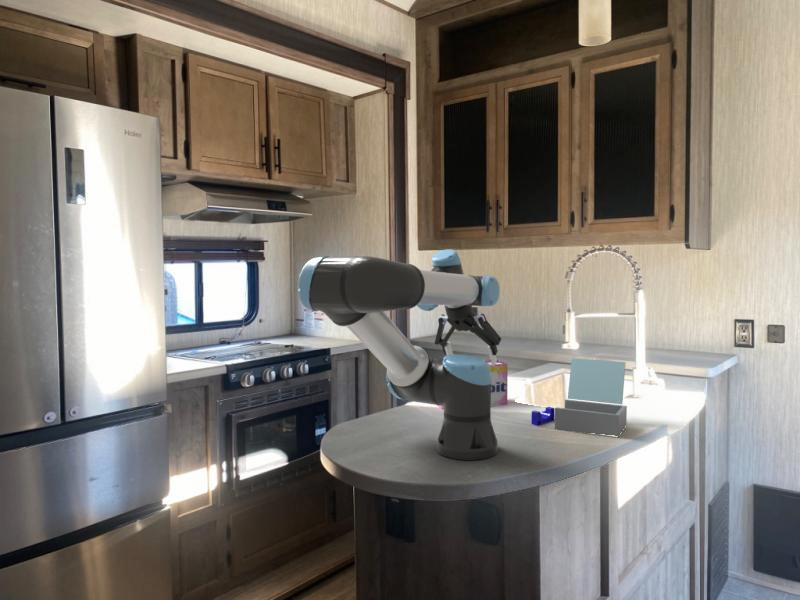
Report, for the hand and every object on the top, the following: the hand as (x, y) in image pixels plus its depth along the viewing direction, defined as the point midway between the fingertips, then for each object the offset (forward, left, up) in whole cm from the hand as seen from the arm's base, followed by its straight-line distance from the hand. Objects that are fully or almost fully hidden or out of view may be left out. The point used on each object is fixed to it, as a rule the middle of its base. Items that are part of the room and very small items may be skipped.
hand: (473, 362), depth 181 cm
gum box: (+14, +7, -17) cm, 23 cm away
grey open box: (+4, -33, -17) cm, 37 cm away
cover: (+13, -33, -5) cm, 36 cm away
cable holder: (+4, -19, -17) cm, 26 cm away
